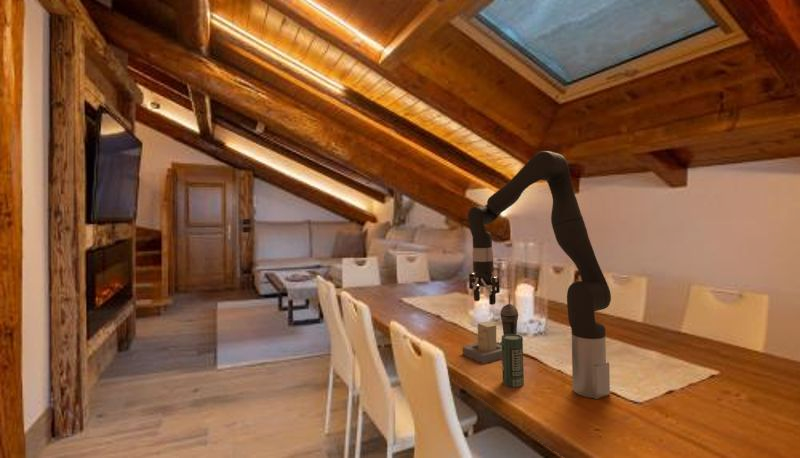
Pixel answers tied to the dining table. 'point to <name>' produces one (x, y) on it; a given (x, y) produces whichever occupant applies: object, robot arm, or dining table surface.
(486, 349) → the skincare box
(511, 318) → the beverage cup
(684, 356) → the dining table surface
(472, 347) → the socket block
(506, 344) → the can
